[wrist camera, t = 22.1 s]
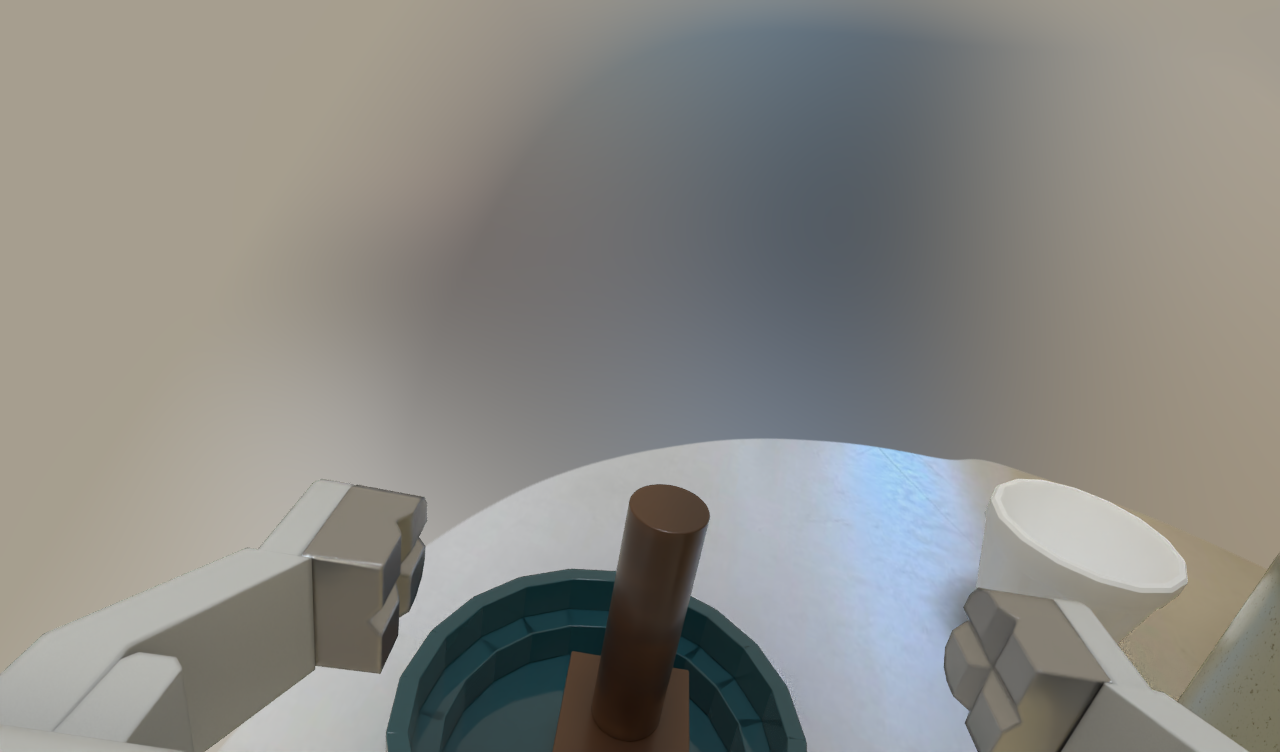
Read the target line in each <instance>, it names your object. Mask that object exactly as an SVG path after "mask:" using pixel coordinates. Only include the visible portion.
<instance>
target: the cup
mask: <svg viewBox="0 0 1280 752" xmlns="http://www.w3.org/2000/svg"><path fill="white" fill-rule="evenodd" d="M985 517H986V522H985V529H984V536H983V543H982V550H981V557H980V563H979V570H978V577H977V584H976V589H977V588H985V589H991V590H997V591H1004V592H1010V593H1016V594H1023V595H1029V596H1035V597H1042V598H1044V597H1050V598H1058V599H1065V600H1073V601H1079V602H1081V603H1082V604H1084V605H1085V606H1087V607H1089V608H1090V609H1091V611H1092V612H1093V613H1094V615H1095V616H1096V617H1097V619H1098V620H1099V621H1100V622H1101V624H1102V625H1103V626H1104V628H1105V629H1106V630H1107V632H1108V633H1109V634H1110V636H1111V637H1112V638H1113V639H1114V641H1115V642H1116V643H1117V644H1118V643H1119V642H1120V641H1121V640H1123V639H1124V638H1125V637H1126V636H1127V635H1128V634H1129V633H1131V632H1132V631H1133V630H1134V629H1135V628H1136V627H1137V626H1139V625H1140V624H1141V623H1142V622H1143V621H1144V620H1145V619H1147V618H1148V617H1149V616H1150V615H1151V614H1152V613H1153V612H1155V611H1156V610H1157V609H1160V608H1162V607H1164V606H1165V605H1167V604H1168V603H1169V602H1171V601H1172V600H1173V599H1175V598H1176V597H1178V596H1179V595H1180V593H1181V592H1182V590H1183V589H1184V587H1185V586H1186V585H1187V583H1188V578H1187V567H1186V563H1185V561H1184V560H1183V558H1182V557H1181V556H1180V554H1179V553H1178V552H1177V551H1176V549H1175V548H1174V547H1173V546H1172V544H1171V543H1170V542H1169V540H1167V539H1166V538H1165V537H1164V536H1162V535H1161V534H1160V533H1158V532H1157V531H1156V530H1154V529H1153V528H1152V527H1151V526H1149V525H1148V524H1147V523H1145V522H1144V521H1143V520H1142V519H1140V518H1138V517H1136V516H1134V515H1133V514H1131V513H1129V512H1127V511H1125V510H1124V509H1122V508H1120V507H1118V506H1116V505H1115V504H1113V503H1111V502H1109V501H1107V500H1104V499H1102V498H1099V497H1097V496H1094V495H1092V494H1089V493H1087V492H1084V491H1082V490H1079V489H1077V488H1074V487H1070V486H1066V485H1061V484H1057V483H1053V482H1049V481H1045V480H1032V479H1015V480H1012V481H1009V482H1006V483H1003V484H1000V485H997V486H996V487H995V490H994V492H993V494H992V497H991V499H990V501H989V504H988V506H987V509H986V511H985Z"/></svg>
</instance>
